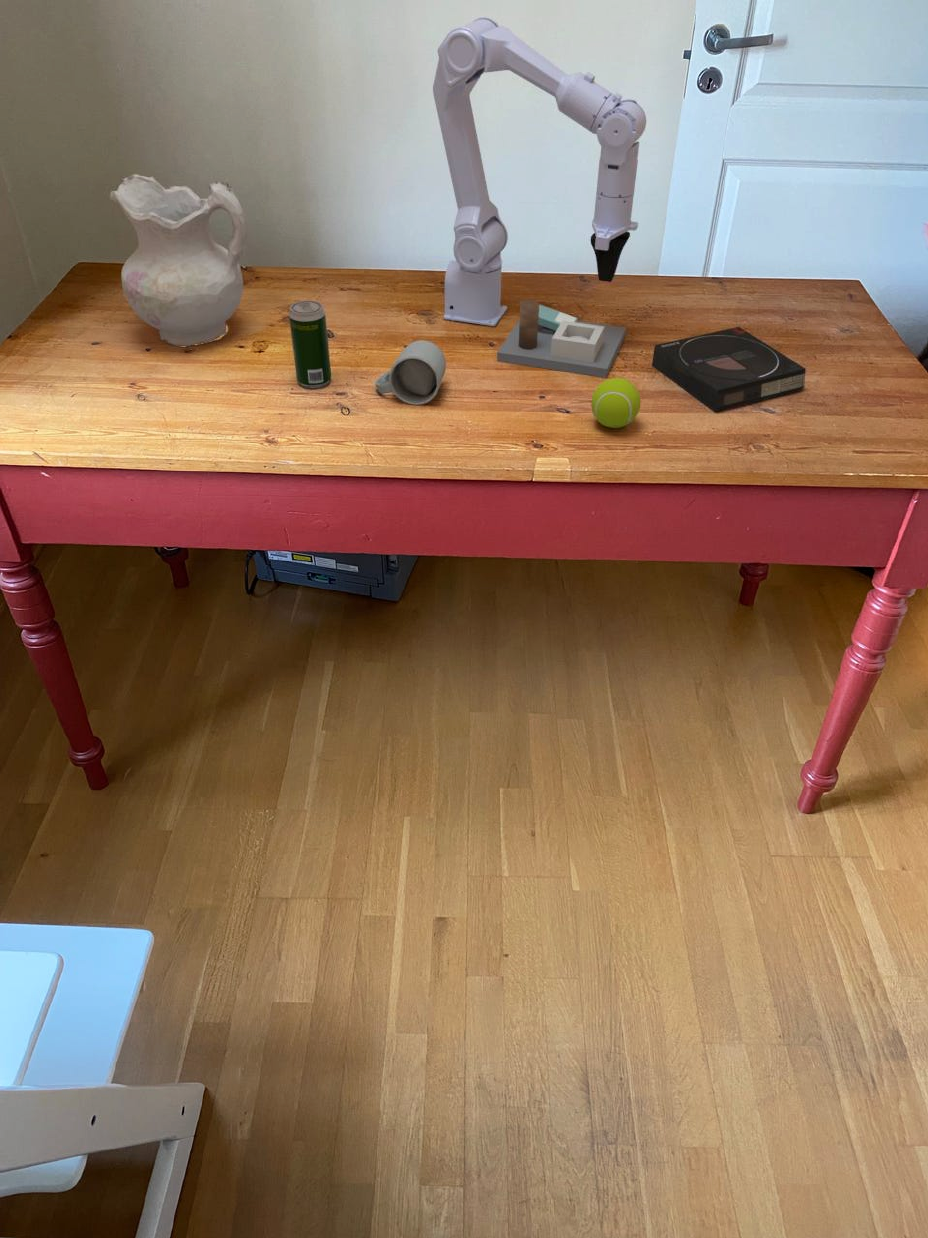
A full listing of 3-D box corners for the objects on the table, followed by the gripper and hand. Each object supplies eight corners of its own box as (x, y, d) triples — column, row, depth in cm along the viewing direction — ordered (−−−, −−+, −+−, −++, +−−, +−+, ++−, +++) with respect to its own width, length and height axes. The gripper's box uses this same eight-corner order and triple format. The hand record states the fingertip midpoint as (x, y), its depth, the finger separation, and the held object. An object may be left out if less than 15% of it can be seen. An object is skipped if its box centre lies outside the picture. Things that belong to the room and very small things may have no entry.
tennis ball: (633, 439, 134) (639, 395, 129) (585, 432, 135) (589, 388, 130) (640, 416, 139) (646, 372, 134) (593, 409, 140) (598, 366, 136)
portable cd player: (715, 416, 140) (720, 391, 137) (651, 368, 151) (654, 344, 149) (802, 394, 145) (808, 370, 142) (733, 349, 157) (738, 326, 154)
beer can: (336, 385, 145) (329, 310, 138) (303, 392, 144) (294, 317, 136) (325, 370, 149) (317, 297, 141) (292, 377, 147) (283, 303, 139)
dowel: (516, 348, 152) (518, 306, 147) (520, 340, 154) (522, 299, 150) (535, 350, 152) (537, 308, 147) (538, 342, 154) (540, 300, 149)
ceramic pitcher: (272, 315, 167) (252, 163, 152) (255, 356, 152) (232, 191, 137) (150, 317, 167) (118, 164, 152) (121, 358, 151) (83, 193, 136)
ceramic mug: (448, 381, 147) (447, 335, 142) (439, 407, 141) (438, 359, 135) (382, 377, 148) (378, 331, 143) (370, 402, 142) (366, 355, 137)
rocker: (524, 319, 156) (526, 311, 155) (531, 308, 159) (533, 301, 158) (569, 335, 155) (572, 328, 154) (575, 324, 158) (578, 317, 157)
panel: (496, 360, 152) (497, 334, 149) (523, 321, 163) (524, 296, 160) (605, 377, 148) (609, 350, 145) (625, 335, 159) (628, 310, 156)
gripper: (632, 209, 137) (621, 300, 146) (649, 180, 147) (638, 266, 156) (585, 204, 139) (577, 294, 148) (605, 175, 149) (596, 261, 158)
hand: (605, 279), depth 152 cm, fingers closed
